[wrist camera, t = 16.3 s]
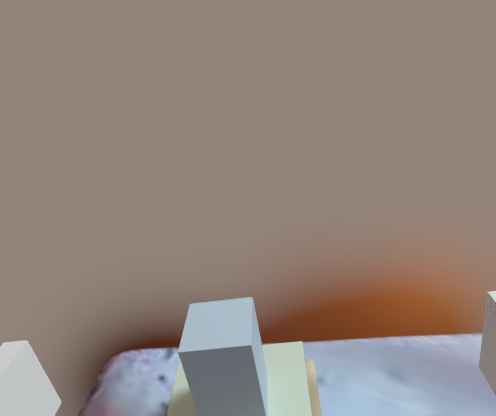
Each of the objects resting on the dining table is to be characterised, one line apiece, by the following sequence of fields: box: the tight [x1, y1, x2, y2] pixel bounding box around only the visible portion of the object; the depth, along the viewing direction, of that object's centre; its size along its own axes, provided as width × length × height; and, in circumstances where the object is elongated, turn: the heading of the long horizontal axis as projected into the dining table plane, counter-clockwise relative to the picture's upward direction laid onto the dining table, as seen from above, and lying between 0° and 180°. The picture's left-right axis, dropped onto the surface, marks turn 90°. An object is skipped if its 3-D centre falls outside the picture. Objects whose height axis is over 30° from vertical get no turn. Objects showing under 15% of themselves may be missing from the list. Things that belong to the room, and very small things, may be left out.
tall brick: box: [178, 297, 268, 416], centre depth 36 cm, size 6×6×10 cm
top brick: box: [166, 341, 312, 416], centre depth 39 cm, size 14×14×4 cm
